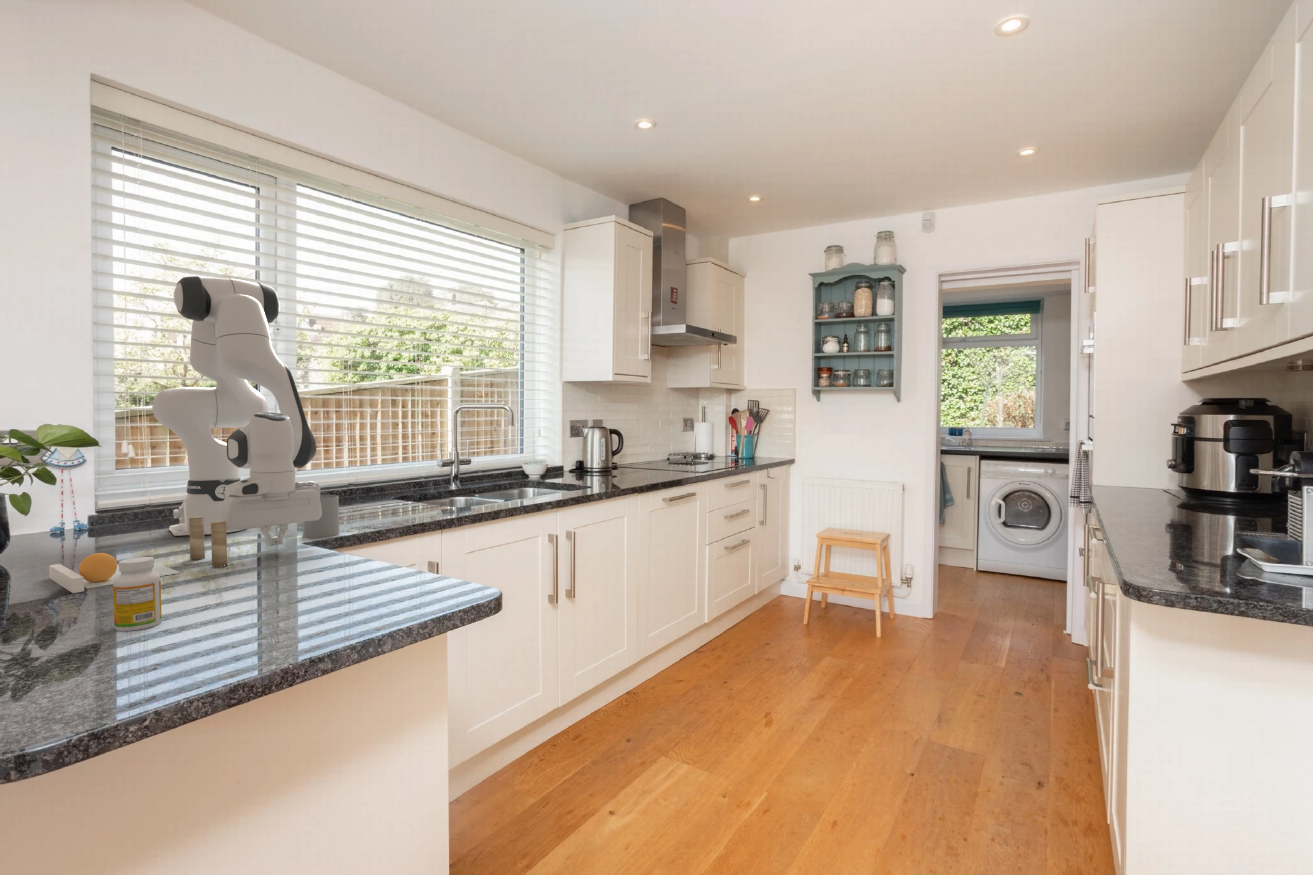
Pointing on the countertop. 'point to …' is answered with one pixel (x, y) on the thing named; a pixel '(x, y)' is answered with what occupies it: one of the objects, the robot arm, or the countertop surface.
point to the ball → (98, 567)
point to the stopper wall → (66, 578)
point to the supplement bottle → (137, 595)
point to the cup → (324, 519)
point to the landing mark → (157, 568)
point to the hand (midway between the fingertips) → (274, 544)
